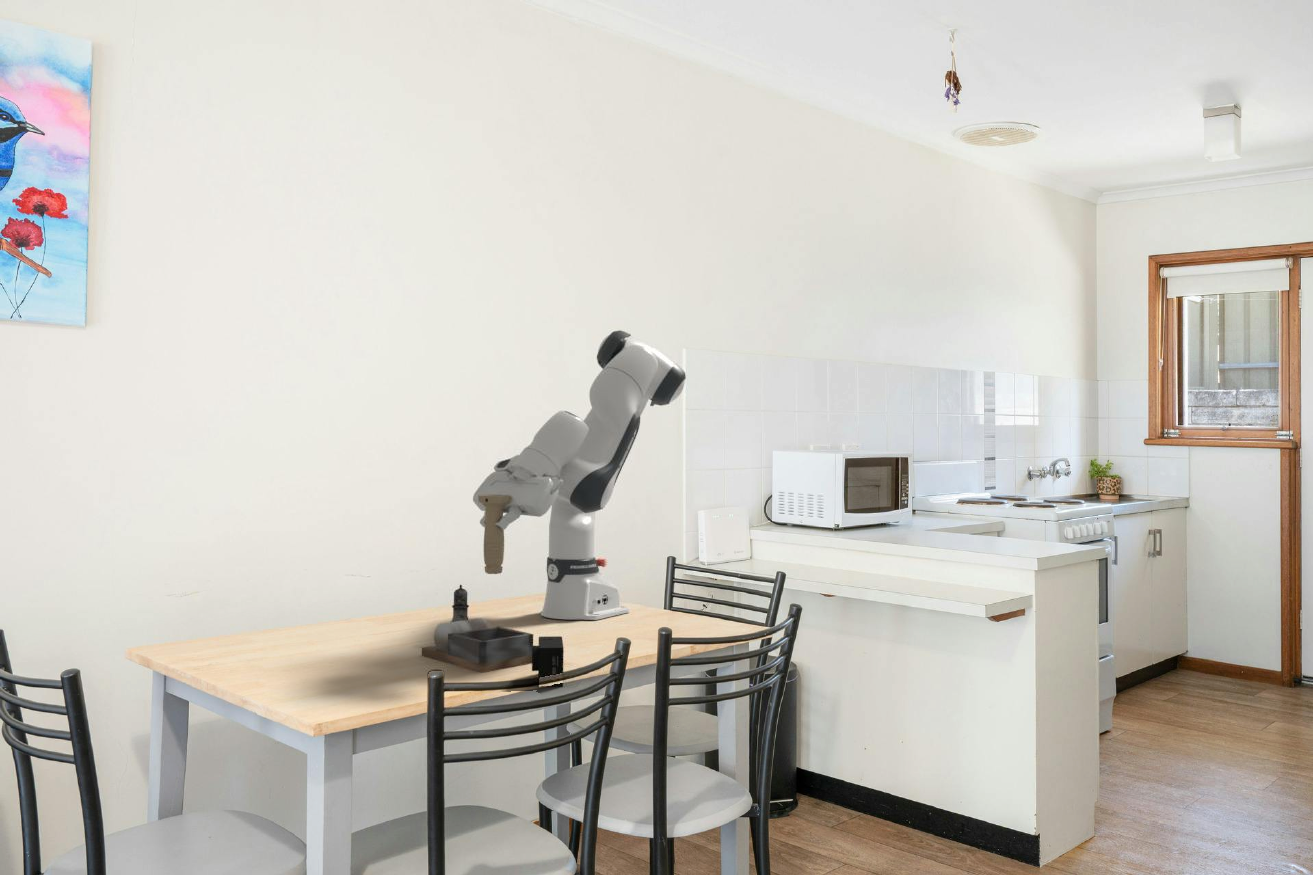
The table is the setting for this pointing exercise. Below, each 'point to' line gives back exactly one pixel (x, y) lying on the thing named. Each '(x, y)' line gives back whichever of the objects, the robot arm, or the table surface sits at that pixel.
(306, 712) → the table surface
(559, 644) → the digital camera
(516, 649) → the base
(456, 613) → the dark grey chess piece
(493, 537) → the handle
